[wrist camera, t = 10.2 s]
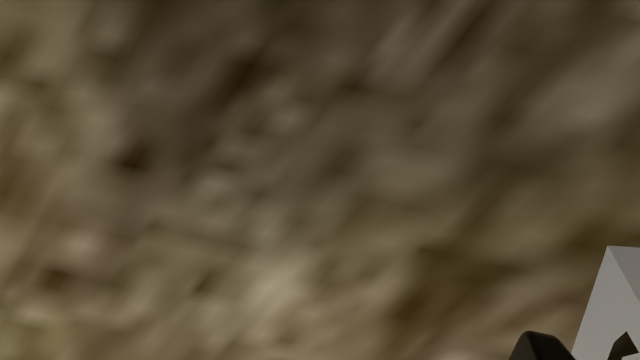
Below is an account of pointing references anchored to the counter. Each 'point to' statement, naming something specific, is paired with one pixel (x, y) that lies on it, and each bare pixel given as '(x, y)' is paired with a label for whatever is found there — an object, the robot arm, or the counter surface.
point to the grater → (612, 306)
